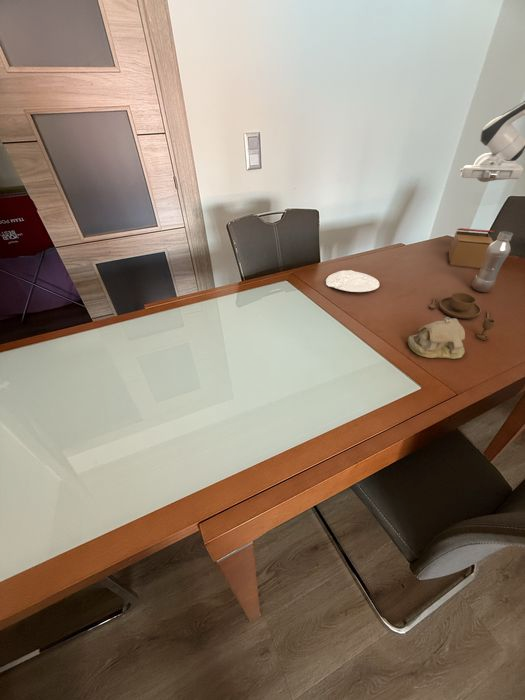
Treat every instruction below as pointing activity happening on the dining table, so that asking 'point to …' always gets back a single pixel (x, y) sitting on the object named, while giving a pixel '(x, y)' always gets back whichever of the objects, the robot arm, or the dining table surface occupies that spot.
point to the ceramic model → (439, 339)
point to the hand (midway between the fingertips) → (492, 175)
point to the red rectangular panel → (474, 230)
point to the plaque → (352, 281)
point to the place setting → (464, 310)
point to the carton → (469, 249)
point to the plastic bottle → (492, 262)
